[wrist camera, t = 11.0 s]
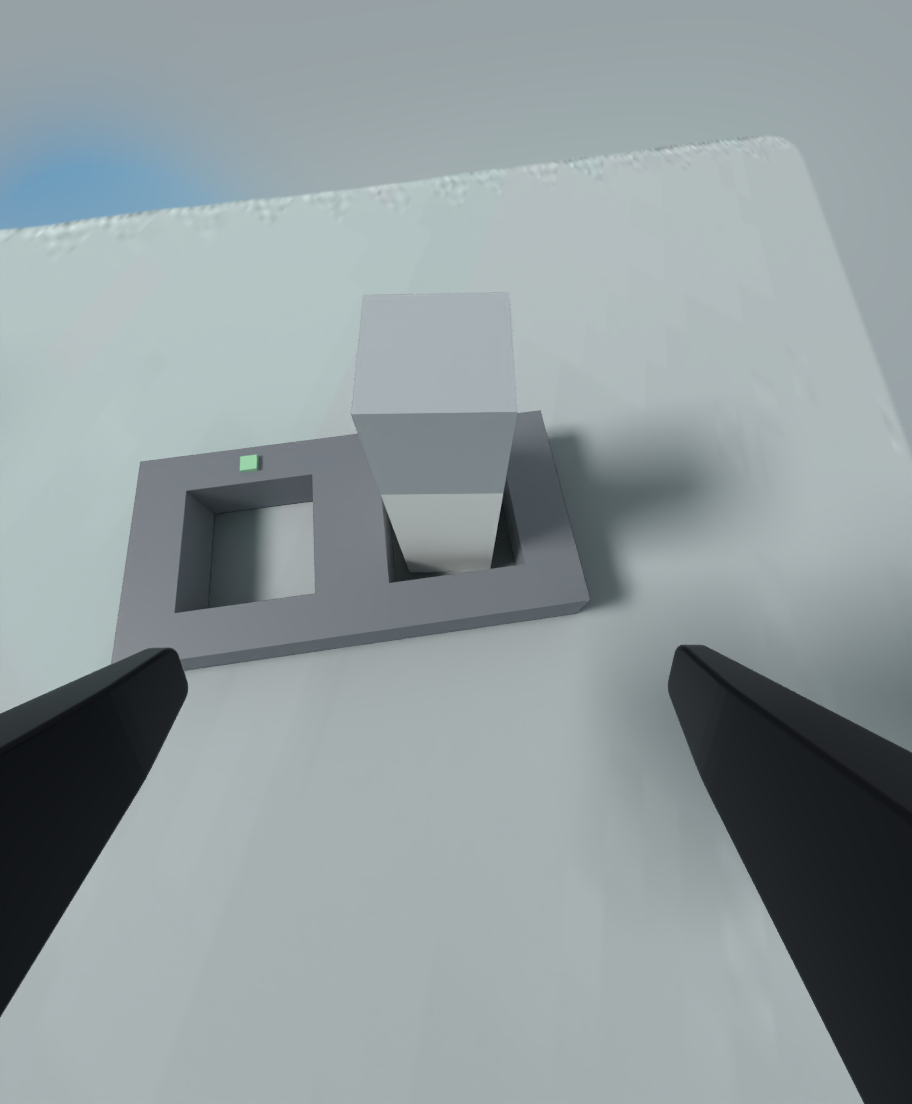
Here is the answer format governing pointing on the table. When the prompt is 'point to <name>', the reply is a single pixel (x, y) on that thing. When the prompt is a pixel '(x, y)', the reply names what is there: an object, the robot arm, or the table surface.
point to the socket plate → (330, 555)
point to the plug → (438, 420)
